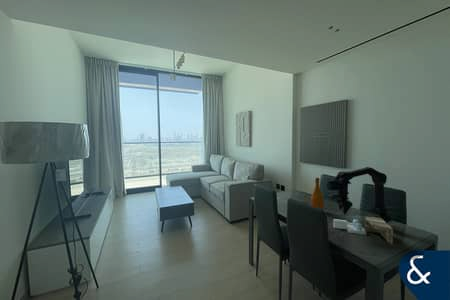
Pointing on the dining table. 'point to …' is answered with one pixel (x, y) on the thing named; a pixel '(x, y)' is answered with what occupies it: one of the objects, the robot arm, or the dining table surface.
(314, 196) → the wine bottle
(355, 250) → the dining table surface
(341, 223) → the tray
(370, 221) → the cream wedge slab
